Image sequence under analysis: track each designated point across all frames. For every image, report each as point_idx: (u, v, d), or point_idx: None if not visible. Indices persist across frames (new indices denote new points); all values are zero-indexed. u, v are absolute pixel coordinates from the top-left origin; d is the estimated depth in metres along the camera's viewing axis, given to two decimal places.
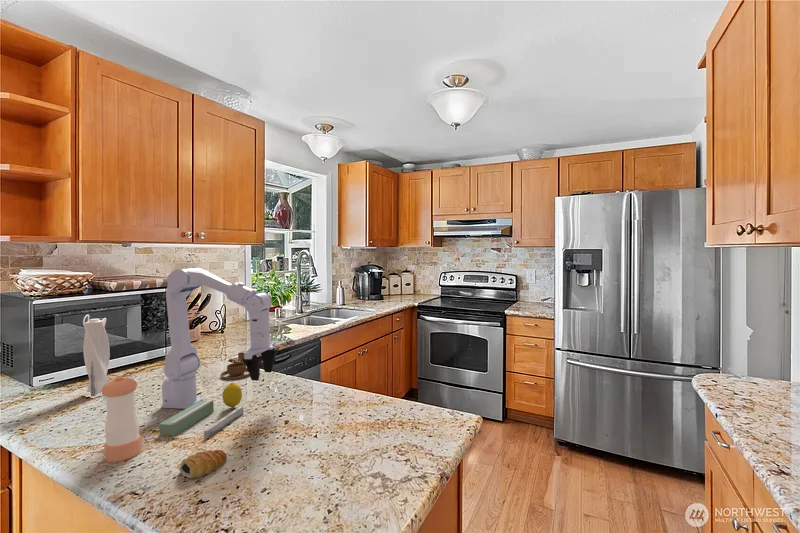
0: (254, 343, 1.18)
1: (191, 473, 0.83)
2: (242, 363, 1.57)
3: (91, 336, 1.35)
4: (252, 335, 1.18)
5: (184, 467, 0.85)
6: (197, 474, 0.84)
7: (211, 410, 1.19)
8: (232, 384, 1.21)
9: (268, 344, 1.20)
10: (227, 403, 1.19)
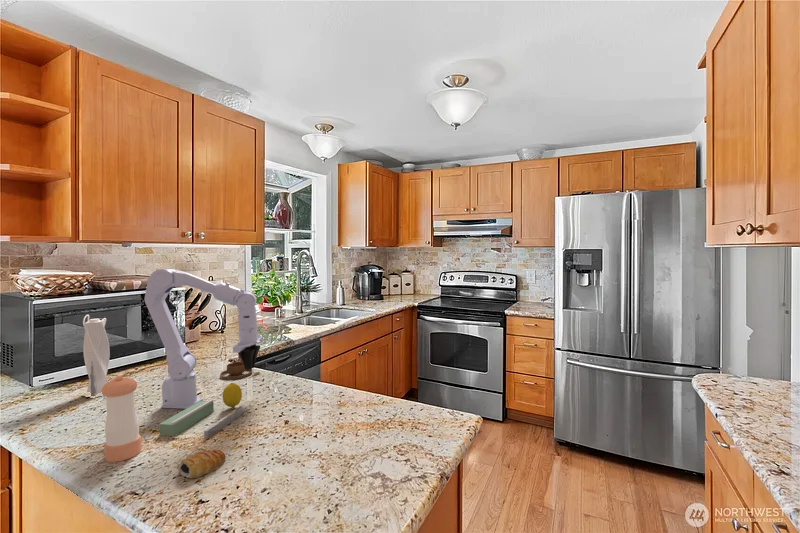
0: (242, 338, 1.28)
1: (190, 473, 0.83)
2: (242, 362, 1.58)
3: (91, 336, 1.35)
4: (240, 331, 1.28)
5: (183, 467, 0.85)
6: (196, 474, 0.84)
7: (211, 410, 1.19)
8: (232, 384, 1.21)
9: (255, 339, 1.30)
10: (227, 403, 1.19)
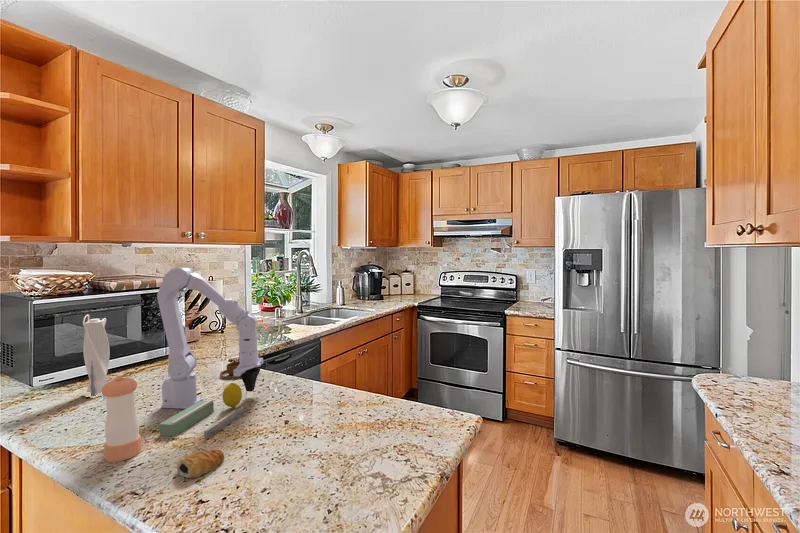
0: (242, 361, 1.28)
1: (189, 473, 0.83)
2: None
3: (91, 336, 1.35)
4: (241, 353, 1.28)
5: (181, 467, 0.85)
6: (195, 473, 0.84)
7: (211, 410, 1.19)
8: (232, 384, 1.21)
9: (256, 361, 1.30)
10: (227, 403, 1.19)
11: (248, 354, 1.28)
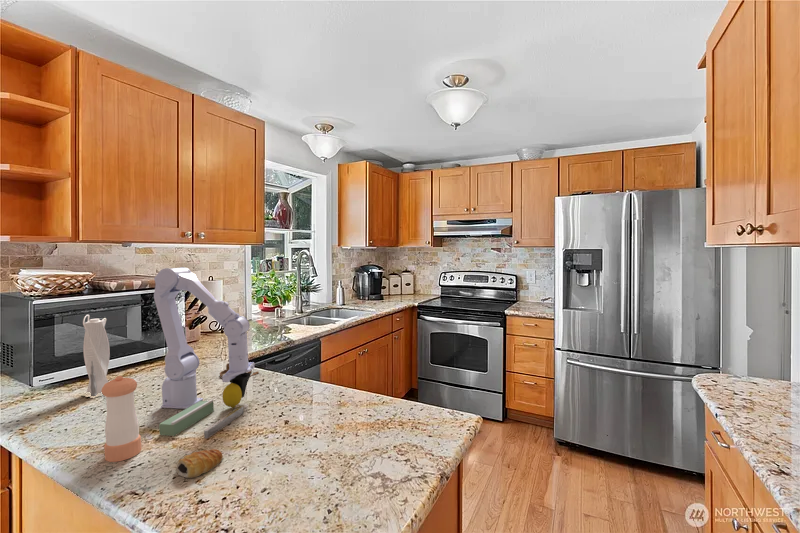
0: (232, 366, 1.22)
1: (188, 472, 0.83)
2: None
3: (91, 336, 1.35)
4: (230, 358, 1.23)
5: (180, 467, 0.85)
6: (194, 473, 0.84)
7: (211, 410, 1.19)
8: (232, 384, 1.21)
9: (246, 366, 1.24)
10: (227, 403, 1.19)
11: (238, 359, 1.22)
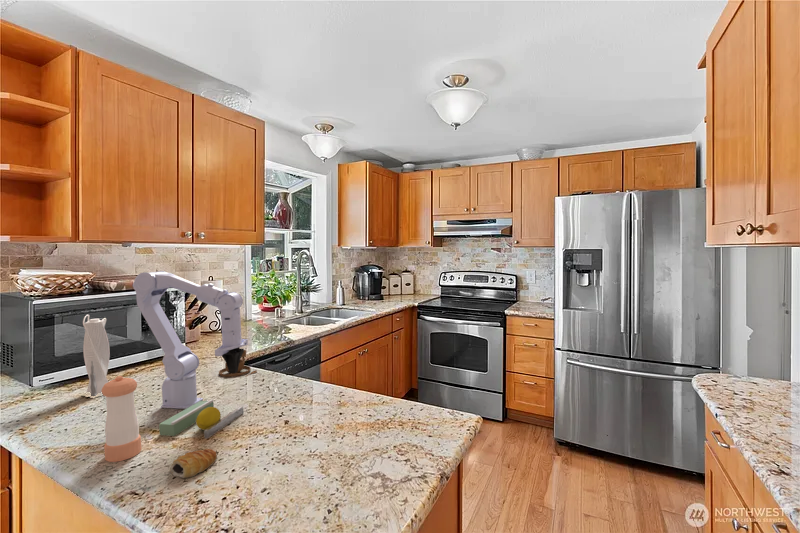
0: (225, 341, 1.22)
1: (185, 472, 0.84)
2: (241, 361, 1.61)
3: (91, 336, 1.35)
4: (223, 333, 1.23)
5: (175, 468, 0.85)
6: (190, 473, 0.84)
7: None
8: (202, 426, 1.05)
9: (239, 342, 1.24)
10: None
11: (231, 334, 1.22)
